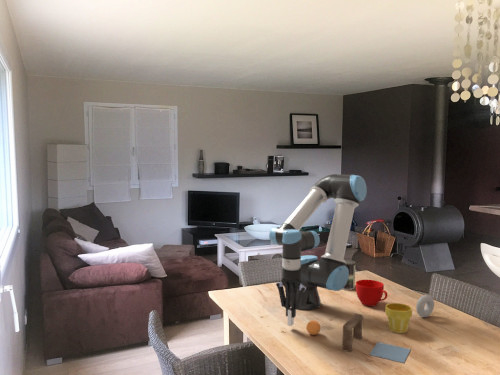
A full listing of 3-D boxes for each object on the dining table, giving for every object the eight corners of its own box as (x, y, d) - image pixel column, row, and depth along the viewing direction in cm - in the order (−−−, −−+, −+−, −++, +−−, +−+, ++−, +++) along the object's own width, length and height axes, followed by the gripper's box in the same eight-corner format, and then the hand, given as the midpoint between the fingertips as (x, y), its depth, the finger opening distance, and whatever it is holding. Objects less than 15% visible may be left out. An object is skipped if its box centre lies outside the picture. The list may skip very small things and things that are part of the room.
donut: (420, 320, 190) (421, 297, 189) (413, 317, 193) (414, 295, 192) (435, 316, 195) (436, 294, 194) (428, 313, 198) (429, 292, 197)
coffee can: (347, 291, 228) (348, 265, 227) (331, 286, 236) (332, 261, 235) (358, 287, 235) (359, 261, 234) (342, 283, 243) (343, 258, 242)
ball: (304, 335, 174) (304, 321, 173) (309, 330, 178) (309, 317, 178) (317, 338, 171) (317, 324, 170) (322, 333, 176) (322, 320, 175)
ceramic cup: (376, 313, 198) (377, 291, 197) (349, 302, 212) (350, 282, 211) (395, 307, 205) (396, 287, 204) (368, 297, 219) (368, 278, 218)
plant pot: (380, 325, 184) (381, 302, 183) (404, 324, 185) (405, 302, 184) (390, 335, 174) (391, 311, 173) (415, 335, 175) (416, 311, 174)
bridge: (342, 349, 161) (343, 325, 160) (354, 335, 173) (355, 313, 173) (350, 351, 160) (351, 327, 159) (362, 337, 172) (362, 314, 171)
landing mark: (369, 354, 157) (369, 354, 157) (377, 342, 168) (377, 341, 168) (403, 363, 151) (403, 362, 151) (410, 349, 161) (410, 349, 161)
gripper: (272, 267, 178) (272, 324, 180) (302, 272, 171) (301, 331, 173) (281, 263, 184) (280, 318, 186) (310, 268, 178) (309, 324, 179)
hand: (290, 324), depth 180 cm, fingers closed
